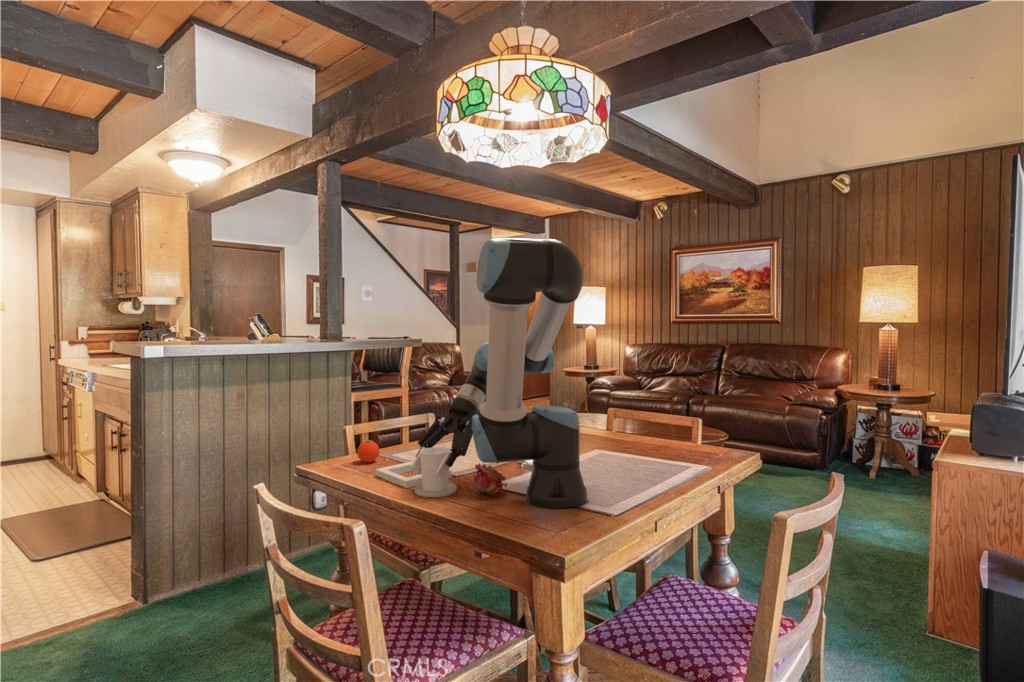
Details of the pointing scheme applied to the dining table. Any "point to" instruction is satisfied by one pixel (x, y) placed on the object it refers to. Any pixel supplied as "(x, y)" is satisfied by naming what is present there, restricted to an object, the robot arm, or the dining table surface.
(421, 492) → the coaster
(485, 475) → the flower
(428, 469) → the white cup
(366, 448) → the clementine
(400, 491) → the dining table surface
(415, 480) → the board
